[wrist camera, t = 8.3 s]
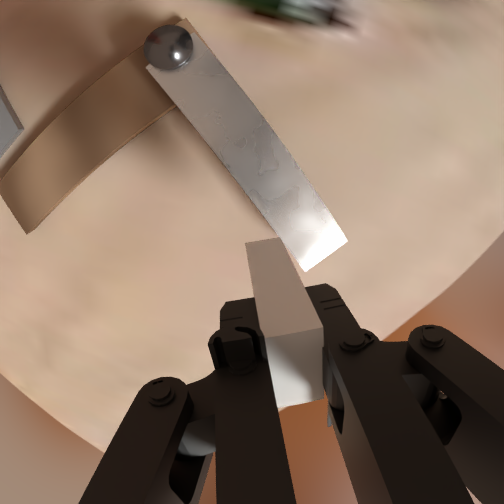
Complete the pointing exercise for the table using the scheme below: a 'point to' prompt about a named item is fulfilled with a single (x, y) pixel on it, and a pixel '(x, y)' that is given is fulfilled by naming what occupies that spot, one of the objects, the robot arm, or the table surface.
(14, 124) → the slate pad
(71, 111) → the base
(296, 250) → the bar
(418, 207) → the table surface
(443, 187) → the table surface
